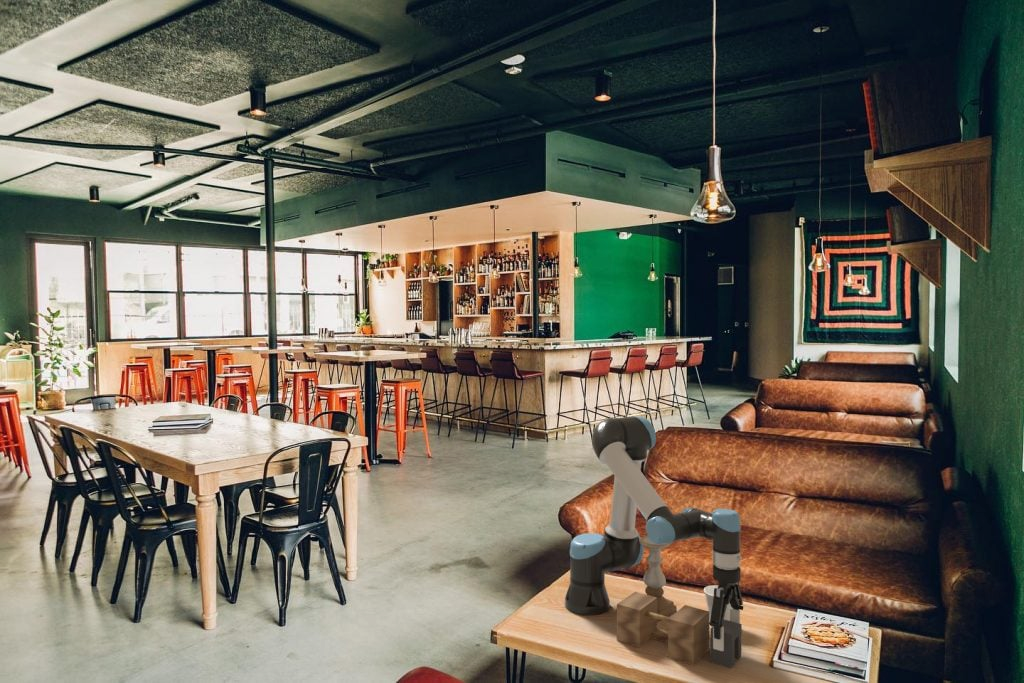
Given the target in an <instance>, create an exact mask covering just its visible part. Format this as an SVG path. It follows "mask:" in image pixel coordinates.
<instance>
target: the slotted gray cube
mask: <svg viewBox="0 0 1024 683" xmlns="http://www.w3.org/2000/svg"><path fill="white" fill-rule="evenodd" d="M722 626H723V627H724V651H720V650H716V649H713V627H712V626H711V627H710V649H709V650H710V651H709V652H710V663H714V664H716V665H719V666H722V667H723V666H724V667H725V668H729V669H733V668H734V667H735V662H736V660H737V661H739V660H741V658H742V649H743V648H742V647H743V646H742V641H743V640H742V638H743V637H742V636H743V633H742V632H743V631H742V630H743V629H742V627H743V626H742V623H740V624H739V623H735V622H732V621H728V620H723V625H722Z"/></svg>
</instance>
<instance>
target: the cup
mask: <svg viewBox="0 0 1024 683" xmlns="http://www.w3.org/2000/svg"><path fill="white" fill-rule="evenodd" d="M718 586H719V585H717V584H716V585H707V586H705V587H704V588H703V592H704V597H705V603H706V607H707V608H706V611H709V622H710V618H711V612H712V605H713V598H714V588H718ZM731 608H732V607H731V605H730V602H729V604H728V605H727V607H726V611H725V616H724V620H728V621H730V609H731ZM732 609H733V608H732ZM712 627H713V626H711V628H712Z"/></svg>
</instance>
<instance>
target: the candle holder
mask: <svg viewBox="0 0 1024 683" xmlns="http://www.w3.org/2000/svg"><path fill="white" fill-rule="evenodd" d="M640 537H641V538H640V539H639V542H640V544H642V545H643V546H644V547H646V548H647V550H648V556H647V557H646V561H647V562H648V565H649V567H648V569H647V570H646V572H645V574H643V580H642V581H643V583H644V585H645V586H646V587H645V590H644V592H645V594H646V595H650V596H653V597H657V614H659V615H662V616H666V617H669V618H670V617H671V616H672V615H673V614H675V613H676V612H677V611H678V610H677V605H676V604H675V602H674V601H673V600H670V599H668V598H666V597H664V594H665V591H664V588H663V587H665V585H666V583H667V581H666V577H665V575H664V573H663V571H662V569H661V567H660V566H661V564H662V562H663V558H662V556H661V551H662V550H663V548H666V547H669V546H670V545H671V543H669V544H655V543H653V542H652V541H651V540H650V539H649V538H648V535H645V536H640ZM657 622H663V621H662V620H658V619H657Z"/></svg>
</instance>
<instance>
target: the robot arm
mask: <svg viewBox="0 0 1024 683" xmlns="http://www.w3.org/2000/svg"><path fill="white" fill-rule="evenodd" d="M591 435H592V436H591V446H592V449H593V451H594V453H595V455H596V457H597V459H598V460H599V462H600V463H601V464H603V465H606V466H607V467H608V468H609V470H610V472H611V473H612V474H613V475H614V479H613V481H614V482H613V488H612V498H611V510H610V519H609V524H608V525H606V526H605V527H604V532H603V533H604V534H603V535H602V534H600V533H596V532H591V533H589V532H587V533H586V532H585V533H582V534H578V535H576V536H575V537H574V538H572V540H571V542H570V547H569V548H570V549H569V557H570V558H569V564H570V565H569V572H570V574H569V578H570V579H569V585H568V587H567V590H566V594H565V598H564V607H565V608H566V609H567V610H568V611H570V612H572V613H575V614H579V615H585V616H587V615H588V616H593V615H594V616H595V615H600V614H604V613H606V612H607V611H609V609H610V602H611V601H610V598H609V595H608V591H607V588H606V584H605V574H606V573H610V572H614V571H619V570H624V569H625V570H626V569H630V568H632V567H635V566H637V565H639V564H640V562H641V561H642V560H643V557H644V551H645V548H644V547H645V546H644V545H642V544H640V542H639V539H640V538H641V537H642V536H640V535H639V531H638V529H636V517H637V509H638V510H639V512H640V513H641V515H642V516H643V518H644V519H645V521H646V524H645V532H646V533H647V536H648V538H649V539H650V540H651V541H652V542H653V543H655V544H669V543H670V544H671V543H674V542H675V543H676V542H681V541H685V540H690V539H696V538H703V539H706V540H709V541H712V564H713V565H712V577H713V579H714V580H715V581H716V582H718V585H717V586H718V588H714V598H713V605H712V612H711V618H710V622H709V627H710V626H711V627H712V626H713V649H716V650H720V651H724V627H723V626H722V625H723V620H724V616H725V611H726V607H727V605H728V604H729V602H730V605H731V607H732V608H733V609H732V608H731V609H730V621H732V622H735V623H739V624H741V611H743V610H744V606H743V604H744V601H743V597H742V596H743V595H742V592H741V587H740V581H741V580H742V578H741V575H742V574H741V572H742V571H741V560H743V557H742V556H741V532H742V530H741V529H742V525H741V516H740V514H739V513H738V512H737V511H736V510H733V509H727V508H718V509H717V508H716V509H714V510H713V511H712V512H709V511H705V510H703V509H701V508H697V507H690V506H688V507H685V508H683V510H682V511H681V512H679V513H673V512H672V510H671V509H670V508H669V506H667V504H666V503H665V502H664V500H663V499H662V498H661V496H660V495H659V493H658V492H657V491H656V489H655V488H654V486H652V484H651V482H650V481H649V480H648V479H647V477H646V476H645V474H643V472H642V470H641V469H642V462H645V460H647V457H648V456H647V455H648V451H650V450H652V449H653V448H654V447H655V445H656V441H657V434H656V431H655V428H654V426H653V424H652V423H651V421H650V420H649V419H647V418H646V417H643V416H633V415H632V416H628V417H627V416H626V417H615V418H613V417H610V418H605V419H603V420H601V421H600V422H599V423H598V424H597V425H596V426H595V427H594V429H593V432H592V434H591Z"/></svg>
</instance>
